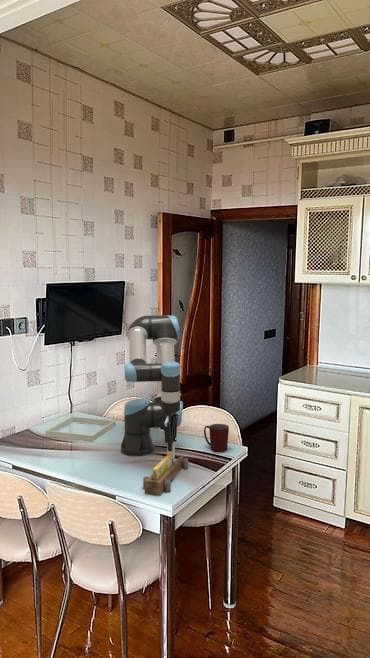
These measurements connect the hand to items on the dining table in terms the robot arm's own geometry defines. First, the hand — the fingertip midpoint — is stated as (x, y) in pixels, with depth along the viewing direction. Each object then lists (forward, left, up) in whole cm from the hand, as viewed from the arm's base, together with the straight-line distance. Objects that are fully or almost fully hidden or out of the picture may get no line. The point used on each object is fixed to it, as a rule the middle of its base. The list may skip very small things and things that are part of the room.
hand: (170, 457), depth 201 cm
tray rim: (-61, +37, -7) cm, 72 cm away
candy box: (0, -9, -7) cm, 11 cm away
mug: (+11, +32, -7) cm, 34 cm away
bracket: (0, -7, -7) cm, 9 cm away
